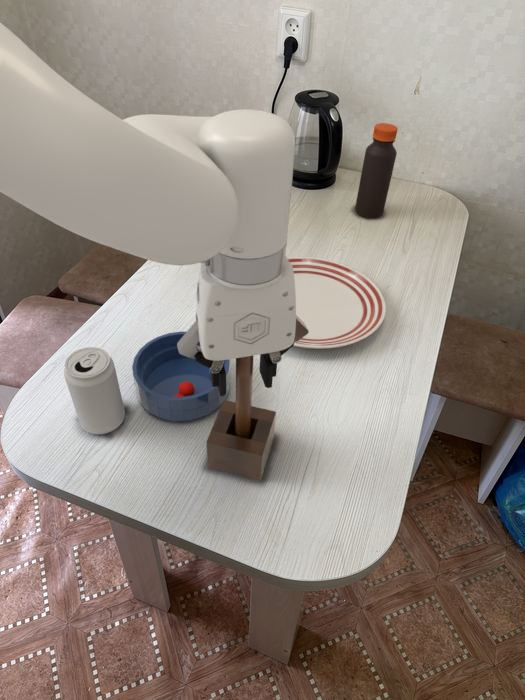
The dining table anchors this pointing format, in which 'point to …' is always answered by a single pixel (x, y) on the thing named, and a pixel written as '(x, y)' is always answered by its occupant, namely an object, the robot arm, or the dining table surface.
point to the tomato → (186, 389)
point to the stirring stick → (243, 396)
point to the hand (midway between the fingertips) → (243, 382)
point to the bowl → (174, 381)
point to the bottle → (377, 172)
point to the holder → (240, 442)
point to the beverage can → (94, 390)
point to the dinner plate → (335, 303)
